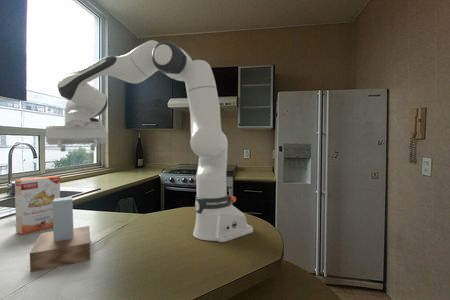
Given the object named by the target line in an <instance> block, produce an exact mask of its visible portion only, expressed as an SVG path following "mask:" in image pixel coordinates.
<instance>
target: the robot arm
mask: <svg viewBox="0 0 450 300" xmlns="http://www.w3.org/2000/svg"><path fill="white" fill-rule="evenodd" d="M156 72H161V73H162V74H165V75H166V76H167V77H168V78H171V79H172V80H175V81H177V82H180V83H185V89H186V90H185V91H186V96H187V101H188V102H187V103H188V108H189V114H190V116H189V118H190V140H189V143H190V144H189V145H190V148H191V150H192V152H193V153H194V154H195V155H196V156H197V157H198V164H197V170H196V174H195V176H196V178H195V179H196V180H195V182H196V195H195V202H194V203H195V204H194V206H195V213H196V215H195V224H194V229H193V232H192V236H193V237H194V238H196V239H198V240H201V241H214V242H220V243H225V242H227V241H231V240H234V239H237V238H239V237H243V236H245V235H249V234H252V233H254V229H253V227H252V225H250V224H248V221H247V217H246V215H245V214H244V213H243V212H242V211H241V210H239V209H238V208H237V207H236V206H234V205H232V203H235V202H236V201H237V198H236V196H233V195H228V194H227V170H228V169H227V167H228V166H227V165H228V147H229V146H228V144H229V142H228V138H227V136H226V134H225V133H224V132H223V131H222V121H221V106H220V100H219V95H218V89H217V84H216V79H215V75H214V73H213V70H212V67H211V66H210V64H209V63H208V61H205V60H202V59H196V60H195V59H193V58H192V57H191V56H190V55H189V54H188V53H187V51H185V50H184V49H183V48H181V47H179V46H178V45H177V44H176V43H174V42H171V41H168V40H167V41H166V40H165V41H163V40H162V41H161V42H160V41H159V42H158V41H156V40H153V39H151V40H148V41H145V42H144V43H142V44H140V45H138V46H136V47H135V48H134V49H132V50H131V51H130V52H128V53H126V54H123V55H120V56H119V55H117V56H115V55H107V56H105V57H103V58H101V59H98V60H97V61H95V62H92V63H91V64H89V65H87V66H85V67H83V68H80V69H78V70H77V71H74V72H71V73H69V74H66V75H64V76H63V77H62V78H61V79H60V80H59V82H58V84H57V89H58V92H59V95H60V96H61V97H62V98H64V99H65V100H67V101H66V104H65V109H64V115H65V117H64V124H50V125H47V126H46V127H45V142H46V144H48V145H49V146H52V145H57V146H58V148H59V150H60V152H66V149H67V148H66V145H90V146H89V147H90V151H96V147H97V146H98V144H106V143H107V142H108V134H107V130H106V127H105V125H103V120H102V119H100V118H96V117H99V116H101V115H102V114H103V113H105V111H106V110H107V108H108V100H109V99H108V96H107V95H105V94H104V93H103V92H102V91H101V90H99V89H97V88H96V87H94V86H93V85H91V84H90V83H89V82H92V81H94V80H96V79H98V78H100V77H102V76H109V77H113V78H116V79H119V80H122V81H124V82H126V83H129V84H140V83H142V82H144V81H145V80H147V79H148V78H149V77H151V76H152V75H153V74H155V73H156Z"/></svg>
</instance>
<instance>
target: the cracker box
mask: <svg viewBox="0 0 450 300" xmlns="http://www.w3.org/2000/svg"><path fill="white" fill-rule="evenodd" d="M36 177H37V178H28V179H21V178H19V179H18V178H17V179H15V180H14V199H15V200H14V202H15V233H17V234H20V235H22V236H23V235H26V234H31V233H35V232H39V231H42V230H45V229H49V228H53V204H52V201H53V200H54V199H56V198H61V177H60V176H58V175H57V176H56V175H52V176H51V175H50V176H36Z"/></svg>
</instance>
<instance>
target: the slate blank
mask: <svg viewBox="0 0 450 300" xmlns="http://www.w3.org/2000/svg"><path fill="white" fill-rule="evenodd" d="M52 204H53V227H52V228H53V229H52V230H53V233H54V242H55V241H61V240H67V239H73V228H74V214H73V213H74V209H73V196H68V197H60V198H56V199H54V200H53V201H52Z"/></svg>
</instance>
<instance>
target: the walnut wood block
mask: <svg viewBox="0 0 450 300" xmlns="http://www.w3.org/2000/svg"><path fill="white" fill-rule="evenodd" d="M90 234H91V233H90V225H87V226H81V227H80V226H79V227H73V239H67V240H61V241H55V242H54V233H53V231H47V232H41V233H40V234H39V236H38V238H37V240H36V241H35V243H34V245H33V246H32V248H31V251H30V252H29V269H30V270H29V271H30V273H32V272H37V271H42V270H47V269H52V268H57V267H62V266H67V265H72V264H76V263H80V262H87V261H90V260H91V237H90V236H91V235H90ZM86 260H87V261H86Z"/></svg>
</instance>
